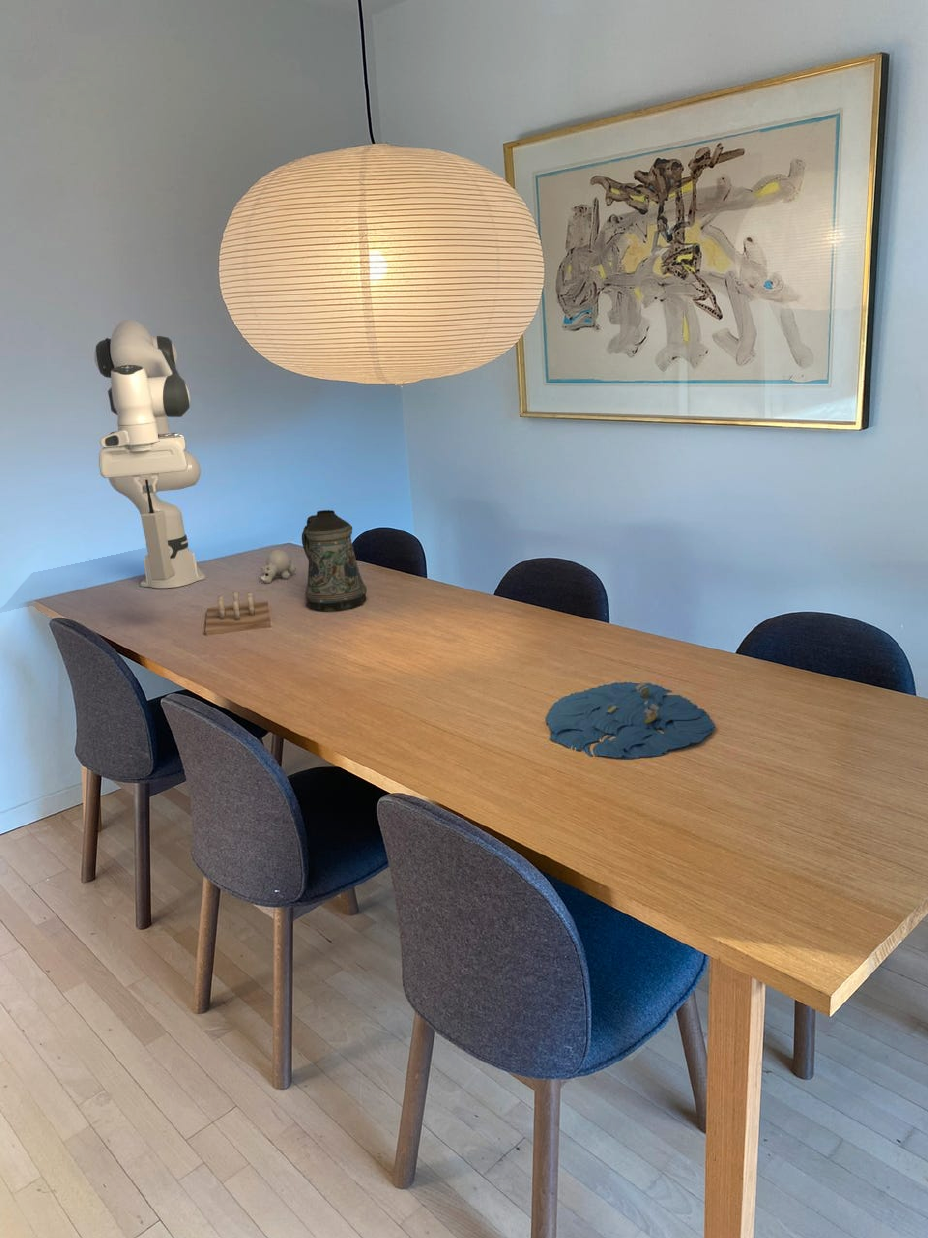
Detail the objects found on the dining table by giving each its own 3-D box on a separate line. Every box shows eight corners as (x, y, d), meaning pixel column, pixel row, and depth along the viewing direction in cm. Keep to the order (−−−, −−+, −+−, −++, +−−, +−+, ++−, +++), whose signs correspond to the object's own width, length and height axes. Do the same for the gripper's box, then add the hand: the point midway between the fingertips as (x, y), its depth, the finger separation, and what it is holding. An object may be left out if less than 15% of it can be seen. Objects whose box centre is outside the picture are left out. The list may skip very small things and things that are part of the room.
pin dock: (207, 612, 240) (204, 590, 238) (267, 604, 244) (265, 582, 242) (205, 635, 222) (202, 611, 220) (270, 626, 225) (267, 603, 223)
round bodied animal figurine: (259, 590, 268) (247, 567, 263) (284, 566, 275) (272, 544, 270) (276, 593, 264) (264, 570, 259) (300, 568, 271) (289, 546, 266)
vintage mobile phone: (175, 575, 227) (159, 477, 219) (165, 580, 222) (149, 480, 215) (161, 575, 227) (145, 477, 220) (152, 580, 223) (135, 480, 215)
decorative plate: (697, 781, 142) (698, 752, 140) (521, 752, 154) (520, 725, 152) (728, 702, 167) (729, 676, 165) (574, 682, 179) (573, 658, 177)
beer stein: (350, 614, 231) (340, 519, 223) (285, 610, 238) (273, 518, 230) (377, 595, 246) (369, 506, 238) (315, 592, 252) (305, 505, 245)
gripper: (184, 430, 219) (193, 486, 223) (96, 437, 215) (107, 494, 219) (183, 433, 213) (192, 490, 217) (92, 440, 209) (103, 499, 213)
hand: (148, 492), depth 218 cm, fingers closed on vintage mobile phone
